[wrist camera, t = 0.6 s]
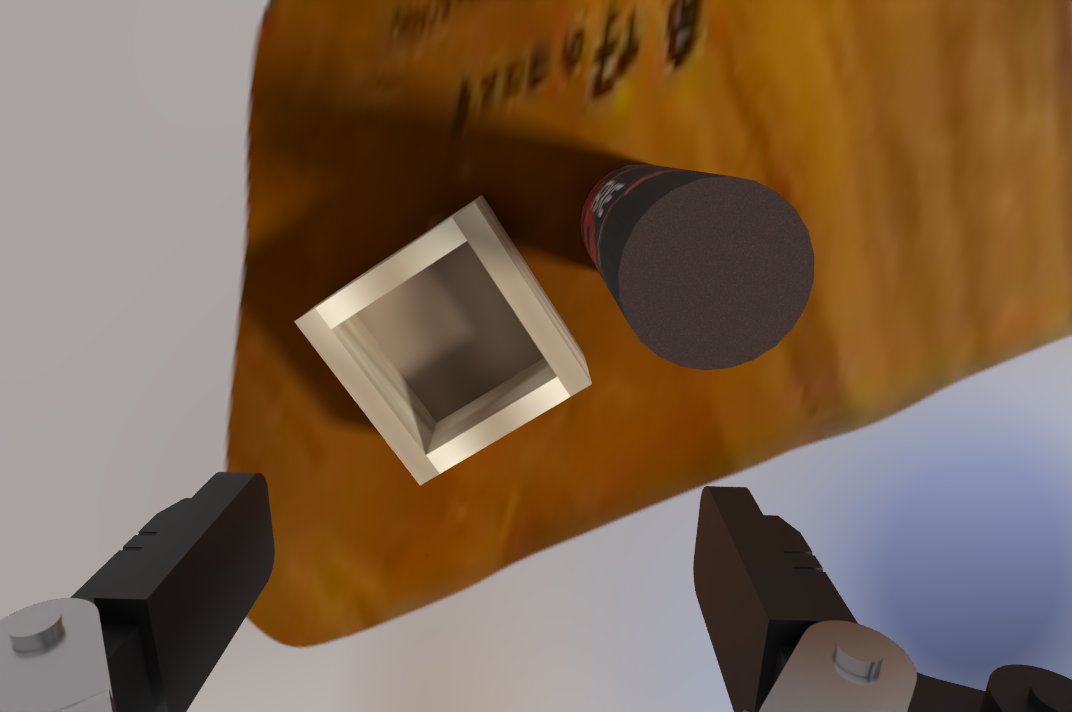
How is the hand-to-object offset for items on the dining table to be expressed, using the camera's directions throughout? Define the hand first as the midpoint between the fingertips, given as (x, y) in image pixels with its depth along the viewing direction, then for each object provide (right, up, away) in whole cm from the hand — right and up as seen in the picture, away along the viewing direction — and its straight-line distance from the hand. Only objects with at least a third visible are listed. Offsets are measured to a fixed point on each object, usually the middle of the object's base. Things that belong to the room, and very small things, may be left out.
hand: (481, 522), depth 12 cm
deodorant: (+6, +10, +22) cm, 25 cm away
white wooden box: (-3, +5, +24) cm, 24 cm away
